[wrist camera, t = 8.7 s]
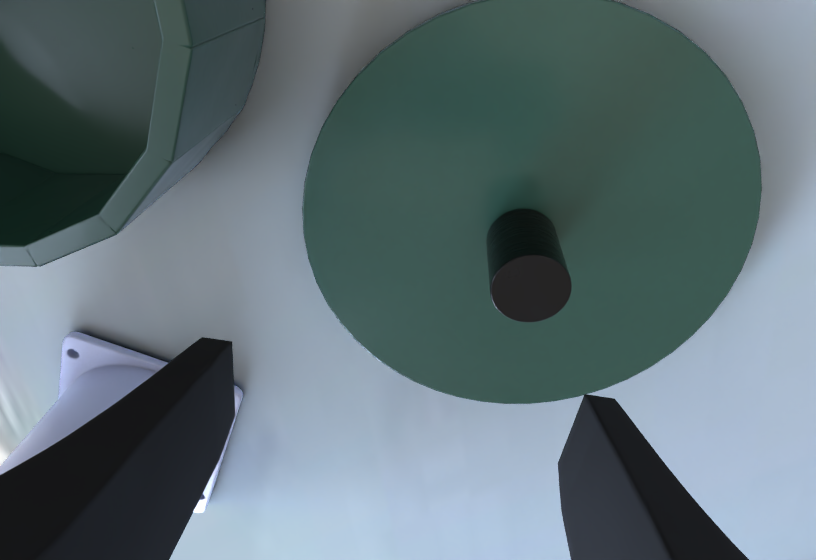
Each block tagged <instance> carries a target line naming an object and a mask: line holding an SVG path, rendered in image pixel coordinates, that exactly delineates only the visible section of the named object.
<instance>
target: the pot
mask: <svg viewBox="0 0 816 560" xmlns="http://www.w3.org/2000/svg"><path fill="white" fill-rule="evenodd" d="M265 7H266V0H0V266H30V267H37V266H43V265H45V264H47V263H50V262H52V261H55V260H57V259H59V258H62V257H64V256H67V255H69V254H71V253H74V252H76V251H79V250H81V249H83V248H86V247H88V246H91V245H93V244H95V243H98V242H100V241H103V240H105V239H108V238H110V237H112V236H115V235H117V234H118V233H119V232H120V231H122V230H123V229H124V228H125V227H126V226H127V225H128V224H130V223H131V222H132V221H133V220H134V219H135V218H137V217H138V216H139V215H140V214H141V213H142V212H143V211H145V210H146V209H147V208H148V207H149V206H150V205H151V204H153V203H154V202H155V201H156V200H157V199H158V198H160V197H161V196H162V195H163V194H164V193H165V192H166V191H168V190H169V189H170V188H171V187H172V186H173V185H175V184H176V183H177V182H178V181H179V180H180V179H181V178H183V177H184V176H185V175H186V174H187V173H188V172H189V171H191V170H192V169H193V168H194V167H195V166H196V165H198V164H199V163H200V161H201V160H202V159H203V158H204V156H205V155H206V154H207V153H208V151H209V150H210V149H211V148H212V146H213V145H214V144H215V143H216V142H217V141H218V140H219V139H220V138H221V137H222V136H223V134H224V133H225V132H226V131H227V129H228V128H229V126H230V125H231V124H232V122H233V121H234V119H235V118H236V116H237V115H238V114H239V113H240V111H241V110H242V109H243V106H244V105H245V103H246V98H247V95H248V93H249V91H250V89H251V86H252V83H253V80H254V77H255V73H256V70H257V67H258V64H259V60H260V54H261V48H262V43H263V37H264V30H265Z"/></svg>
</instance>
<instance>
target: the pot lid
mask: <svg viewBox="0 0 816 560" xmlns="http://www.w3.org/2000/svg"><path fill="white" fill-rule="evenodd" d="M761 191H762V184H761V166H760V156H759V152H758V147H757V143H756V138H755V134H754V130H753V127H752V125H751V122H750V120H749V117H748V115H747V112H746V110H745V107H744V105H743V103H742V101H741V99H740V98H739V96H738V94H737V93H736V91H735V90H734V88H733V86H732V85H731V83H730V81H729V80H728V78H727V77H726V75H725V74H724V73H723V72H722V71H721V70H720V68H719V67H718V66H717V65H716V64H715V63H714V62H713V60H712V59H711V58H710V57H709V56H708V55H707V54H706V52H704V51H703V50H702V49H701V48H700V47H698V46H697V45H696V44H695V43H693V42H692V41H691V40H690V39H688V38H687V37H686V36H685V35H684V34H682V33H681V32H680V31H678V30H677V29H675V28H673V27H671V26H670V25H668V24H666V23H664V22H663V21H661V20H659V19H657V18H656V17H654V16H652V15H650V14H648V13H646V12H643V11H641V10H638V9H635V8H633V7H630V6H628V5H625V4H622V3H620V2H617V1H614V0H477V1H473V2H470V3H467V4H465V5H462V6H459V7H457V8H454V9H451V10H449V11H446V12H443V13H441V14H438V15H437V16H435V17H433V18H431V19H429V20H427V21H426V22H424V23H422V24H420V25H418V26H416V27H415V28H413V29H411V30H409V31H408V32H406V33H405V34H404V35H402V36H401V37H399V38H398V39H397V40H395V41H394V42H393V43H391V44H390V45H389V46H387V47H386V48H385V49H383V50H382V51H381V52H380V53H379V54H378V55H377V56H376V57H375V58H374V59H373V60H372V61H371V62H370V63H368V64H367V65H366V66H365V67H364V68H363V69H362V70H361V71H360V72H359V73H358V74H357V76H356V77H355V78H354V80H353V81H352V82H351V84H350V85H349V86H348V87H347V89H346V90H345V91H344V93H343V94H342V95H341V96H340V98H339V99H338V100H337V102H336V104H335V105H334V107H333V109H332V111H331V112H330V114H329V116H328V118H327V119H326V121H325V123H324V125H323V126H322V128H321V131H320V134H319V136H318V139H317V141H316V144H315V146H314V149H313V151H312V154H311V157H310V162H309V166H308V170H307V174H306V179H305V184H304V195H303V207H302V211H303V230H304V238H305V243H306V248H307V253H308V259H309V262H310V264H311V267H312V270H313V273H314V276H315V279H316V282H317V284H318V286H319V288H320V290H321V292H322V294H323V296H324V298H325V300H326V302H327V304H328V305H329V307H330V308H331V310H332V311H333V313H334V314H335V316H336V317H337V319H338V320H339V321H340V323H341V324H342V325H343V326H344V328H345V329H346V330H347V331H348V332H349V333H350V334H351V336H352V337H353V338H354V339H355V340H356V341H357V342H358V343H359V344H360V345H361V346H363V347H364V348H365V349H366V350H367V351H368V352H369V353H370V354H372V355H373V356H374V357H375V358H377V359H378V360H379V361H381V362H382V363H384V364H385V365H387V366H388V367H389V368H391V369H392V370H394V371H396V372H398V373H399V374H401V375H403V376H405V377H407V378H409V379H410V380H412V381H414V382H417V383H419V384H422V385H424V386H426V387H429V388H431V389H433V390H436V391H440V392H443V393H446V394H450V395H453V396H456V397H461V398H466V399H471V400H476V401H482V402H492V403H503V404H531V403H541V402H551V401H558V400H563V399H568V398H573V397H578V396H582V395H585V394H588V393H592V392H595V391H598V390H602V389H605V388H607V387H610V386H612V385H614V384H617V383H619V382H622V381H624V380H627V379H629V378H631V377H632V376H634V375H636V374H638V373H640V372H642V371H644V370H646V369H648V368H649V367H651V366H653V365H654V364H656V363H657V362H659V361H660V360H662V359H663V358H665V357H666V356H668V355H669V354H671V353H672V352H673V351H674V350H676V349H677V348H678V347H679V346H680V345H682V344H683V343H684V342H685V341H686V340H688V339H689V338H690V337H691V336H692V335H693V334H694V333H695V332H696V331H697V330H698V329H699V328H700V327H701V326H702V325H703V324H704V323H705V322H706V321H707V320H708V319H709V318H710V317H711V315H712V314H713V313H714V311H715V310H716V309H717V308H718V306H719V305H720V304H721V302H722V301H723V300H724V298H725V297H726V296H727V294H728V293H729V291H730V289H731V287H732V286H733V284H734V282H735V280H736V279H737V277H738V275H739V273H740V272H741V270H742V267H743V265H744V262H745V260H746V258H747V255H748V253H749V250H750V248H751V245H752V242H753V238H754V234H755V230H756V226H757V223H758V219H759V211H760V201H761Z"/></svg>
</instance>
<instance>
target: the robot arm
mask: <svg viewBox="0 0 816 560" xmlns="http://www.w3.org/2000/svg"><path fill="white" fill-rule="evenodd" d="M75 350H76V351H77V352H76V351H75ZM242 398H243V392H242V390H241V389H240V388H239V387H237V386H235V385H234V374H233V353H232V342H231V341H224V340H218V339H211V338H204V337H202V338H201V339H199V340H198V341H196V342H195V343H194V344H192V345H191V346H190V347H188V348H187V349H186V350H185V351H183V352H182V353H181V354H179V355H178V356H177V357H176V358H174V359H173V360H172V361H171V362H169V363H168V362H165V361H162V360H159V359H156V358H153V357H150V356H147V355H144V354H141V353H138V352H135V351H133V350H130V349H127V348H124V347H121V346H118V345H115V344H112V343H109V342H106V341H103V340H100V339H97V338H94V337H92V336H89V335H86V334H83V333H80V332H70V333H69V334H68V335H67V336H66V337H65V338H64V339H63V346H62V359H61V372H60V384H59V397H58V400H57V401H56V402H55V404H54V405H53V406H52V407H51V408H50V409H49V411H48V412H47V413H46V414H45V415H44V416H43V417H42V419H41V420H40V421H39V422H38V423H37V424H36V425H35V427H34V428H33V429H32V430H31V431H30V432H29V434H28V435H27V436H26V437H25V438H24V439H23V440H22V442H21V443H20V444H19V445H18V446H17V447H16V448H15V450H14V451H13V452H12V453H11V454H10V455H9V457H8V458H7V459H6V460H5V461H4V462H3V463H2V465H1V466H0V560H169V559H170V557H171V555H172V553H173V551H174V549H175V547H176V545H177V543H178V541H179V539H180V537H181V535H182V533H183V531H184V529H185V527H186V525H187V523H188V521H189V519H190V517H191V515H192V513H193V512H196V513H201V512H204V511H205V510H206V508H207V506H208V503H209V500H210V497H211V494H212V491H213V488H214V485H215V481H216V478H217V475H218V472H219V469H220V466H221V463H222V460H223V457H224V454H225V451H226V447H227V444H228V441H229V438H230V435H231V432H232V429H233V426H234V423H235V420H236V417H237V413H238V410H239V407H240V404H241V401H242ZM558 471H559V486H560V498H561V509H562V516H563V521H564V526H565V531H566V536H567V541H568V546H569V551H570V556H571V560H749V559H748V558H747V557H746V556H745V555H744V554H743V553H742V552H741V551H740V550H739V549H738V548H737V547H736V546H735V545H734V544H733V543H732V542H731V541H730V539H729V538H728V537H727V536H726V535H725V534H724V533H723V532H722V531H721V529H720V528H719V527H718V526H717V525H716V524H715V523H714V522H713V521H712V519H711V518H710V517H709V516H708V515H707V514H706V513H705V512H704V510H703V509H702V508H701V507H700V506H699V505H698V503H697V502H696V501H695V500H694V499H693V498H692V496H691V495H690V494H689V493H688V492H687V490H686V489H685V488H684V487H683V486H682V484H681V483H680V482H679V481H678V480H677V478H676V477H675V476H674V475H673V473H672V472H671V471H670V470H669V468H668V467H667V466H666V465H665V463H664V462H663V461H662V459H661V458H660V457H659V456H658V454H657V453H656V452H655V451H654V449H653V448H652V447H651V445H650V444H649V443H648V441H647V440H646V439H645V438H644V436H643V435H642V434H641V432H640V431H639V430H638V428H637V427H636V426H635V424H634V423H633V422H632V420H631V419H630V418H629V416H628V415H627V414H626V413H625V411H624V410H623V409H622V407H621V406H620V405H619V404H618V402H617V401H616V400H615V399H613V398H606V397H599V396H593V395H586V394H585V395H584V397H583V400H582V403H581V405H580V408H579V410H578V413H577V415H576V418H575V421H574V423H573V426H572V428H571V431H570V434H569V436H568V439H567V441H566V444H565V446H564V449H563V452H562V454H561V457H560V459H559V462H558Z"/></svg>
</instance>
